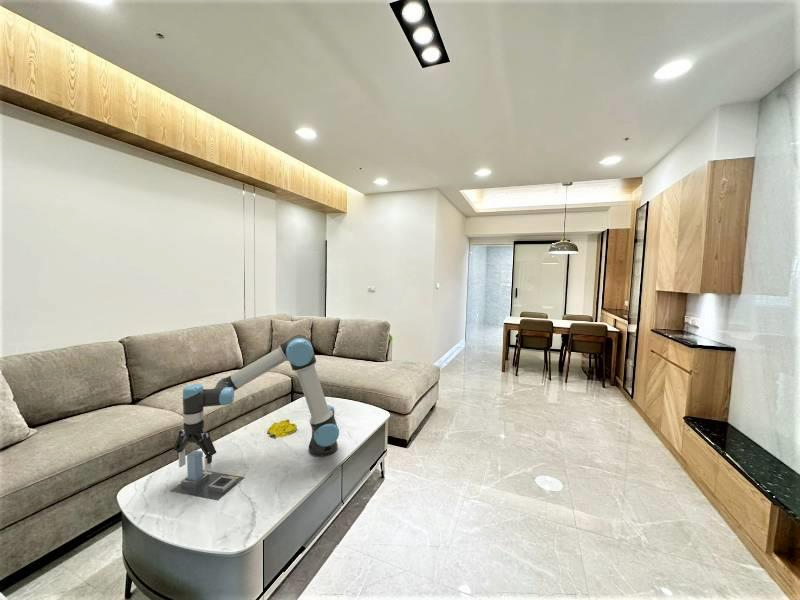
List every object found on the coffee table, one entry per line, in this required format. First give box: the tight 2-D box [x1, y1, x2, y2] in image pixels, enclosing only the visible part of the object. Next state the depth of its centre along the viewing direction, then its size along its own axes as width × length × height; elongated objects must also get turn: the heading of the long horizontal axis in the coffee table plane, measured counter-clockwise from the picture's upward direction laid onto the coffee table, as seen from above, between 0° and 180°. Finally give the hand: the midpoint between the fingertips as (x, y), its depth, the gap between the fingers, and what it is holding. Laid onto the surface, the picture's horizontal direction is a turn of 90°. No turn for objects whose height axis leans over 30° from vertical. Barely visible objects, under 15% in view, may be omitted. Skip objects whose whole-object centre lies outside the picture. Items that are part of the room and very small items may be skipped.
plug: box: [186, 449, 204, 482], centre depth 144 cm, size 4×5×13 cm
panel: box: [170, 469, 246, 501], centre depth 143 cm, size 24×16×3 cm, turn 77°
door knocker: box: [266, 419, 297, 439], centre depth 196 cm, size 16×16×4 cm
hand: (195, 467), depth 144 cm, fingers open, 13 cm apart
